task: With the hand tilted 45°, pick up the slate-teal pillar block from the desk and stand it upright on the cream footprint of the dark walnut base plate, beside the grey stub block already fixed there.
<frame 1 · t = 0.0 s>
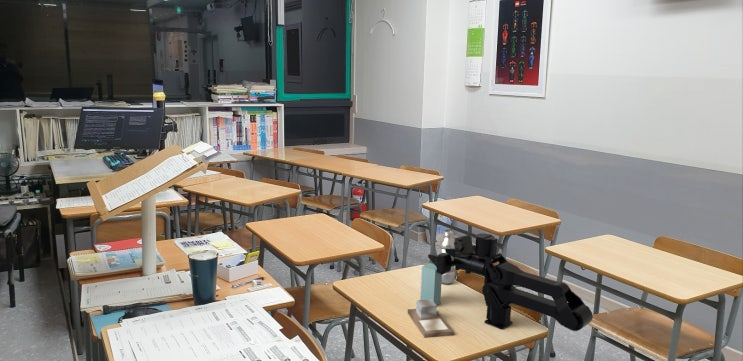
hand: (436, 252, 180), 17 cm above the table, fingers open, 9 cm apart
pillar block: (430, 303, 179), on the table
silver ribbed bottle: (445, 283, 198), on the table
base plate: (429, 323, 164), on the table
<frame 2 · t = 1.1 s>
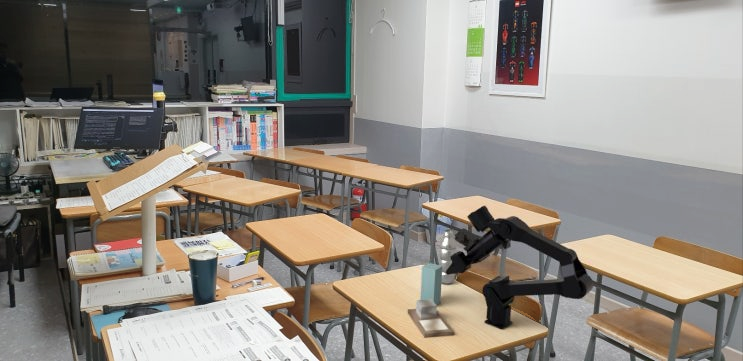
hand: (452, 269, 173), 14 cm above the table, fingers open, 9 cm apart
nothing on the table moved.
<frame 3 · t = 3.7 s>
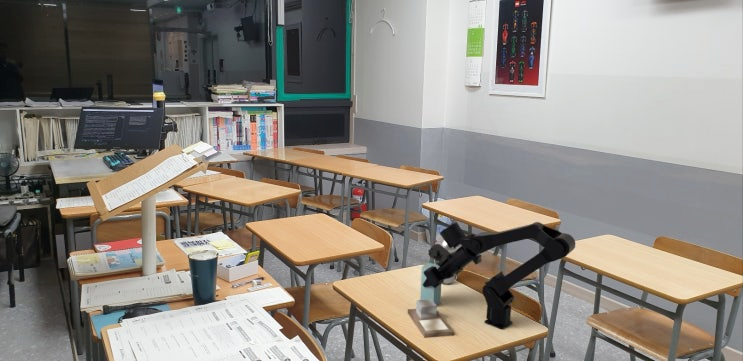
hand: (427, 283, 179), 7 cm above the table, fingers closed on pillar block, 5 cm apart
pillar block: (430, 302, 179), on the table, touching gripper
everything else where it was.
when the fingers open (9 cm above the table, at t = 8.3 s): pillar block stays where it is, resting on base plate.
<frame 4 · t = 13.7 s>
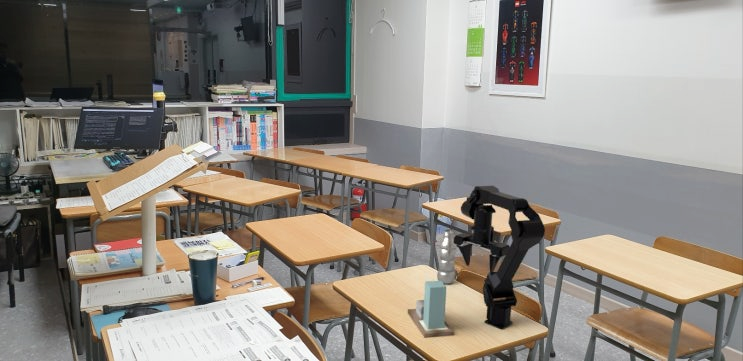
hand: (479, 269, 176), 13 cm above the table, fingers open, 9 cm apart
pillar block: (433, 324, 160), point 1 cm above the table, touching base plate
everything else where it was.
at the end: pillar block 0.0 cm from the target spot, point 1.2 cm above the table; pillar block tilted 0°; the gripper is holding nothing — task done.
